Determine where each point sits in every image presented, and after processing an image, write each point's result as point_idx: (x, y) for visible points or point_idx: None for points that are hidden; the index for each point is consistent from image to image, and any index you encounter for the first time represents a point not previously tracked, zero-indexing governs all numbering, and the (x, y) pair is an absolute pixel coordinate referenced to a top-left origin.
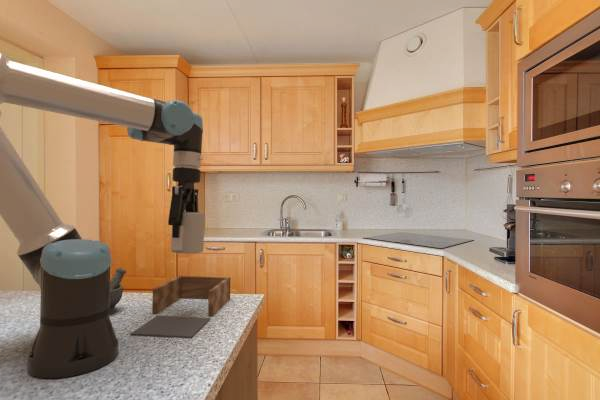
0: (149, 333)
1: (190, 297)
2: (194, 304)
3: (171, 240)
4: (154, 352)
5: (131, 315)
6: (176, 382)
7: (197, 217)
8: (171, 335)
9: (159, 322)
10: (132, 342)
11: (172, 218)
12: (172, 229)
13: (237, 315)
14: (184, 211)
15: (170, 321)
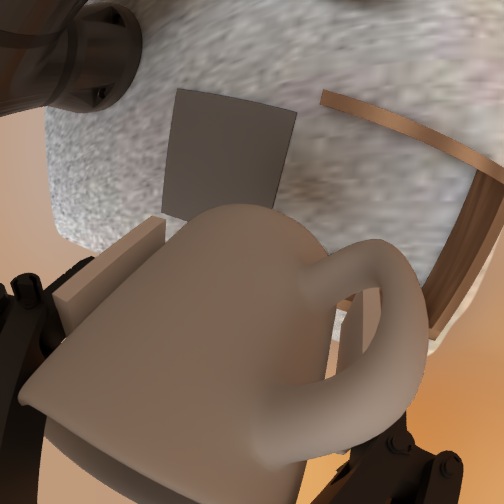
0: (174, 128)
1: (467, 197)
2: (403, 207)
3: (121, 239)
4: (114, 160)
5: (320, 41)
6: (64, 207)
7: (104, 454)
8: (165, 174)
9: (240, 130)
10: (147, 108)
11: (6, 325)
12: (72, 280)
13: None
14: (41, 441)
15: (244, 156)
